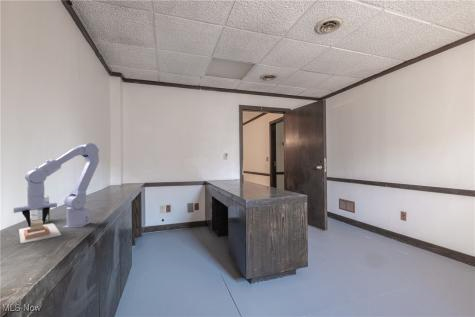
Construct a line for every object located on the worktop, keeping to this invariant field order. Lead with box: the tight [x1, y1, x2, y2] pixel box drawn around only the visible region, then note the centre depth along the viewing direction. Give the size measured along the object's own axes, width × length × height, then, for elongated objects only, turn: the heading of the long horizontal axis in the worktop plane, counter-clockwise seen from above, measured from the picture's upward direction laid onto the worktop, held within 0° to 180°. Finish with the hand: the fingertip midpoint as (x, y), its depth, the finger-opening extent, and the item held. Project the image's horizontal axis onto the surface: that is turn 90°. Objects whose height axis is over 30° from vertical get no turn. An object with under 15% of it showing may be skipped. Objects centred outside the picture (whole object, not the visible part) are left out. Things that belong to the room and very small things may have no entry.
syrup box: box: [30, 195, 51, 223], centre depth 117 cm, size 6×6×14 cm
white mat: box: [18, 222, 62, 245], centre depth 101 cm, size 13×26×1 cm, turn 47°
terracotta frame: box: [24, 226, 50, 240], centre depth 98 cm, size 12×8×2 cm, turn 47°
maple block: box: [30, 219, 44, 231], centre depth 98 cm, size 8×4×3 cm, turn 47°
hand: (36, 225), depth 98 cm, fingers closed on maple block, 4 cm apart
